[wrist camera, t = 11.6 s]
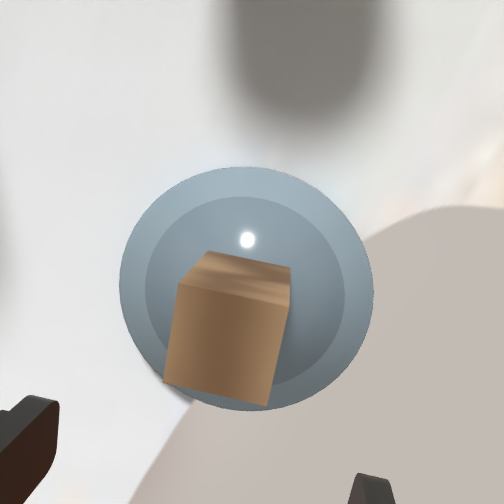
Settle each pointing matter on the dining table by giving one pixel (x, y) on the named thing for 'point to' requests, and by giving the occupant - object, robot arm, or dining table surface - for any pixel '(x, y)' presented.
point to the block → (228, 327)
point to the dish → (261, 249)
